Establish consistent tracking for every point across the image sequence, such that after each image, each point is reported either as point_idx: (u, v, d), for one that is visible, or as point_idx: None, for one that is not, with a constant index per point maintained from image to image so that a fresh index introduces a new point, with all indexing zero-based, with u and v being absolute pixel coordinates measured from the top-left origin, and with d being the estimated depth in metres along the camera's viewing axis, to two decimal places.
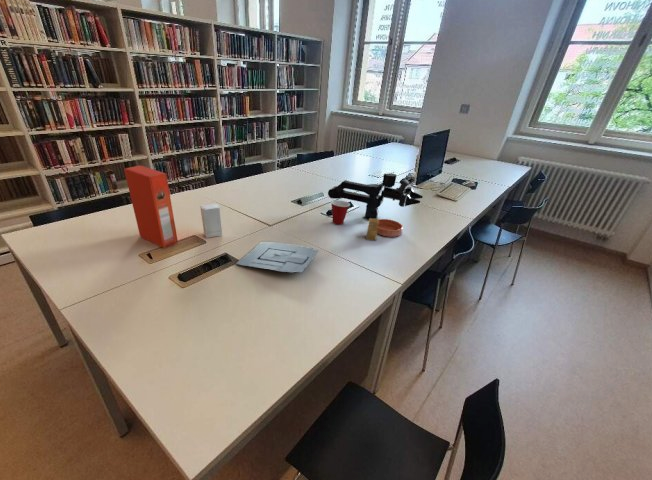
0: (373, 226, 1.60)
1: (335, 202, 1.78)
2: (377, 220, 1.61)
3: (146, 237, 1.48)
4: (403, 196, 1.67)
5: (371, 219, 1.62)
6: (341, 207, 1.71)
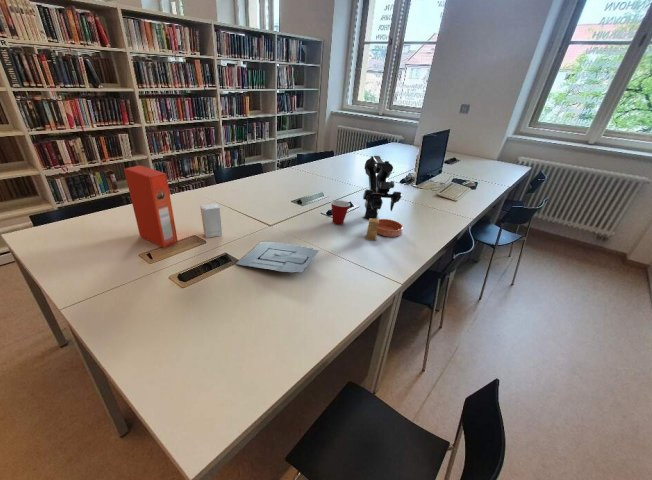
0: (373, 226, 1.60)
1: (335, 202, 1.78)
2: (377, 220, 1.61)
3: (146, 237, 1.48)
4: (365, 191, 1.63)
5: (371, 219, 1.62)
6: (341, 207, 1.71)
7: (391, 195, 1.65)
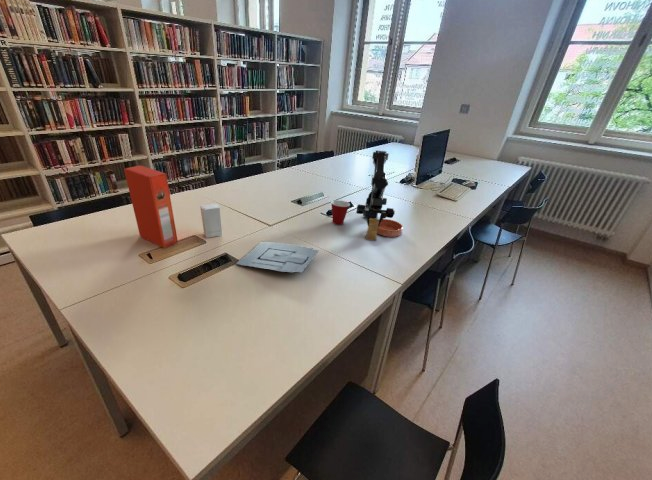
0: (373, 226, 1.60)
1: (335, 202, 1.78)
2: (377, 220, 1.61)
3: (146, 237, 1.48)
4: (357, 206, 1.62)
5: (371, 219, 1.62)
6: (341, 207, 1.71)
7: (380, 211, 1.62)
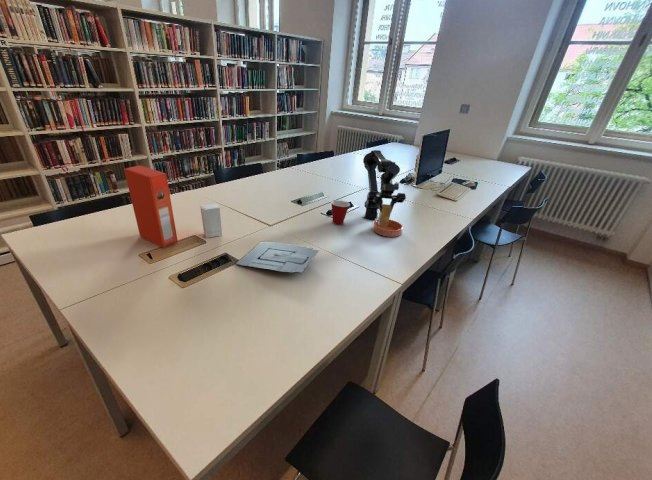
0: (386, 212, 1.60)
1: (335, 202, 1.78)
2: (389, 206, 1.61)
3: (146, 237, 1.48)
4: (369, 193, 1.60)
5: (383, 205, 1.61)
6: (341, 207, 1.71)
7: (391, 196, 1.62)
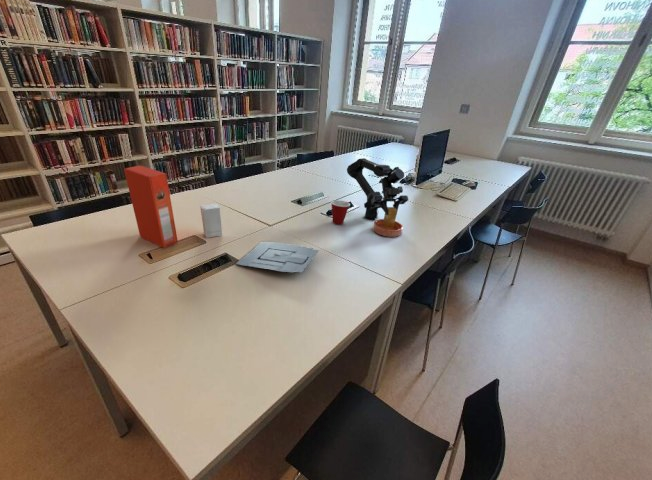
0: (393, 214, 1.67)
1: (335, 202, 1.78)
2: (394, 208, 1.68)
3: (146, 237, 1.48)
4: (375, 197, 1.66)
5: (389, 208, 1.68)
6: (341, 207, 1.71)
7: (394, 199, 1.70)
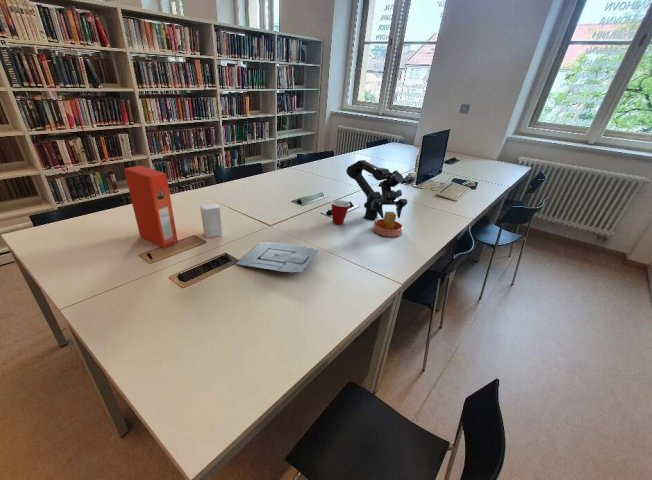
0: (392, 219, 1.69)
1: (335, 202, 1.78)
2: (393, 213, 1.70)
3: (146, 237, 1.48)
4: (374, 201, 1.67)
5: (387, 212, 1.70)
6: (341, 207, 1.71)
7: (397, 202, 1.71)
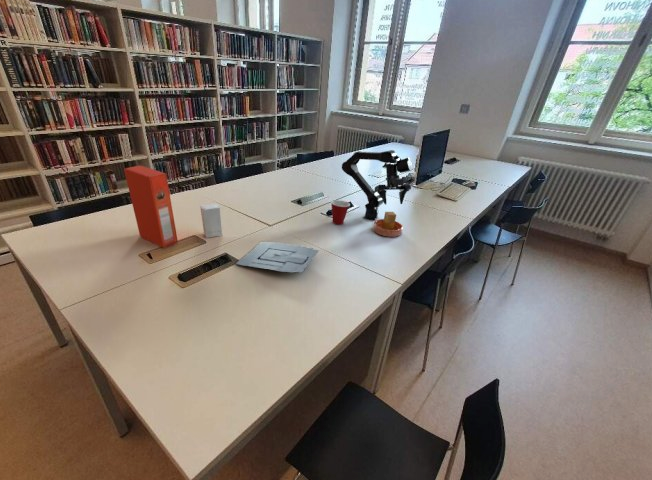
0: (392, 219, 1.69)
1: (335, 202, 1.78)
2: (393, 213, 1.70)
3: (146, 237, 1.48)
4: (379, 187, 1.67)
5: (387, 212, 1.70)
6: (341, 207, 1.71)
7: (401, 187, 1.72)
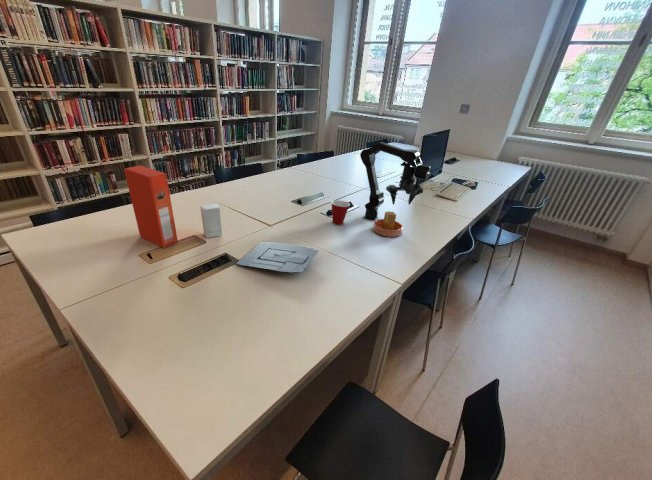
0: (392, 219, 1.69)
1: (335, 202, 1.78)
2: (393, 213, 1.70)
3: (146, 237, 1.48)
4: (390, 190, 1.66)
5: (387, 212, 1.70)
6: (341, 207, 1.71)
7: None
